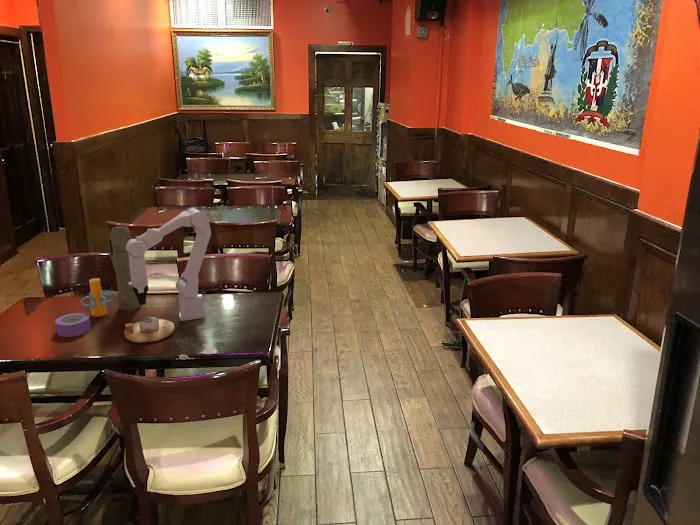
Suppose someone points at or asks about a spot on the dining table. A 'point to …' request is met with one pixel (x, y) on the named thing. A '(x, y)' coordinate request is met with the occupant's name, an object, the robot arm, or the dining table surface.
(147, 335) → the disc
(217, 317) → the dining table surface
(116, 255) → the thermos
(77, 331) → the tape roll
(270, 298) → the dining table surface
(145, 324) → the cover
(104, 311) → the cylinder
